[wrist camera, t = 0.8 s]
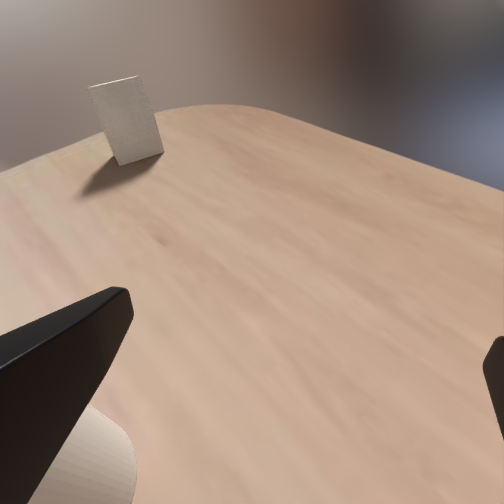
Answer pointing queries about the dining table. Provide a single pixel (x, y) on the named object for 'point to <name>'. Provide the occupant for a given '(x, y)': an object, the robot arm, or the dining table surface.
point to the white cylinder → (91, 465)
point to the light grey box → (127, 119)
